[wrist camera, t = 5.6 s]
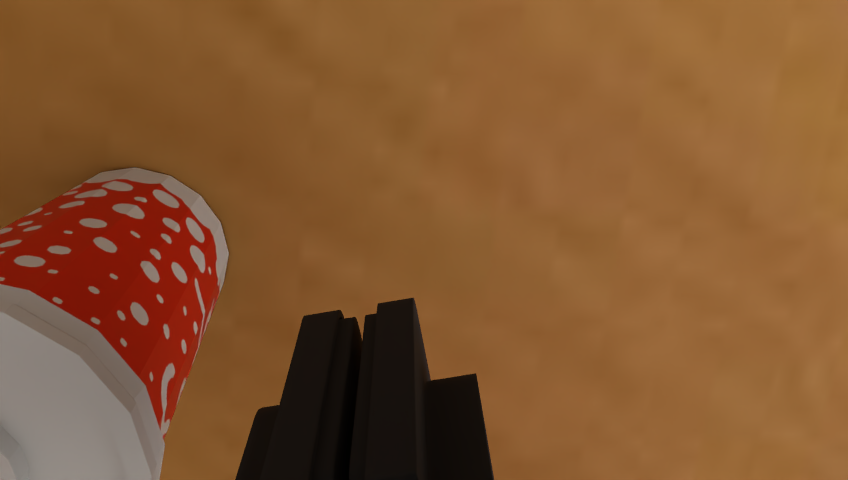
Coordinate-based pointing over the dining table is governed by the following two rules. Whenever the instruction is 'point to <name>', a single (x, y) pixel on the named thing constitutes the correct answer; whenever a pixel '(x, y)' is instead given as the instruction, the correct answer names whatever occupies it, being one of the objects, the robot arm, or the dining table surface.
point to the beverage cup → (102, 324)
